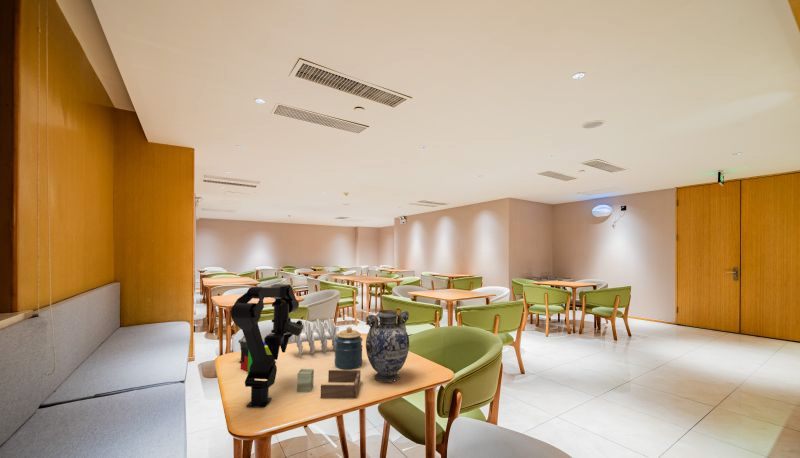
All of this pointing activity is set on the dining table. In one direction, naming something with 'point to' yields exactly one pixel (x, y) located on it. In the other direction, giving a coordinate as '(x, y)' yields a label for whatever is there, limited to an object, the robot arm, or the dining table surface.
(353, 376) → the open wooden frame
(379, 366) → the decorative vase
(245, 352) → the puzzle toy
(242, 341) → the dark lantern
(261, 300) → the robot arm
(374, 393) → the dining table surface
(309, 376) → the block
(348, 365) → the canister
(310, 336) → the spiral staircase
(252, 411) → the dining table surface
